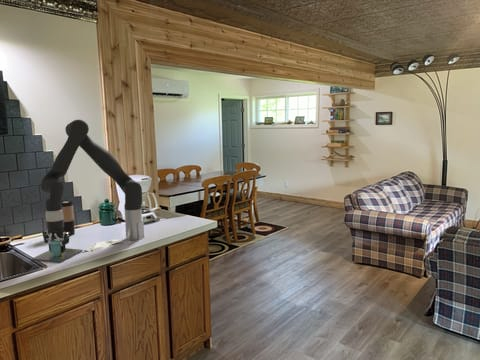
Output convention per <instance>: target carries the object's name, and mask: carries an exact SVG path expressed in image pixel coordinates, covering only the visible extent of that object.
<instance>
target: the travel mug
mask: <svg viewBox="0 0 480 360" xmlns="http://www.w3.org/2000/svg"><path fill="white" fill-rule="evenodd" d="M61 203H62V211H63V220H64V228H63V230H64V232H69V233H70V236H74V235H75V234H76V232H75V231H76V229H75V214H74V212H75V211H74V204H73V200H68V199H67V200H65V199H64V200H61ZM63 236H64V235H63ZM70 236H69V237H70Z"/></svg>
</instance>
